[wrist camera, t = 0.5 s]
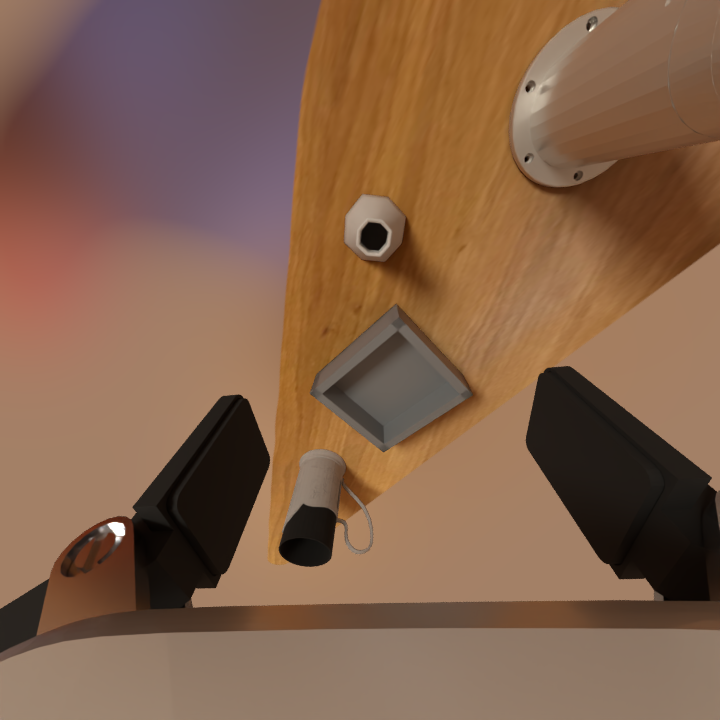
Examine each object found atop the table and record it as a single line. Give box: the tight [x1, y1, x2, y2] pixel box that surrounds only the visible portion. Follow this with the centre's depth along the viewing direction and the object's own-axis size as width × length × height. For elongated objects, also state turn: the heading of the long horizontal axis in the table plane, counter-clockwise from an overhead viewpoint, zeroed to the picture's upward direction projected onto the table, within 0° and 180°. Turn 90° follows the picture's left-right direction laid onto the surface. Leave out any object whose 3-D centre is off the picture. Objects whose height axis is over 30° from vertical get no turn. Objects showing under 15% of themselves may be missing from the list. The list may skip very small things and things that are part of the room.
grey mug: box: [279, 449, 373, 567], centre depth 46 cm, size 9×14×15 cm, turn 76°
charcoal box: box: [310, 304, 473, 452], centre depth 40 cm, size 16×15×5 cm
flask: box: [344, 194, 406, 262], centre depth 28 cm, size 7×7×10 cm
